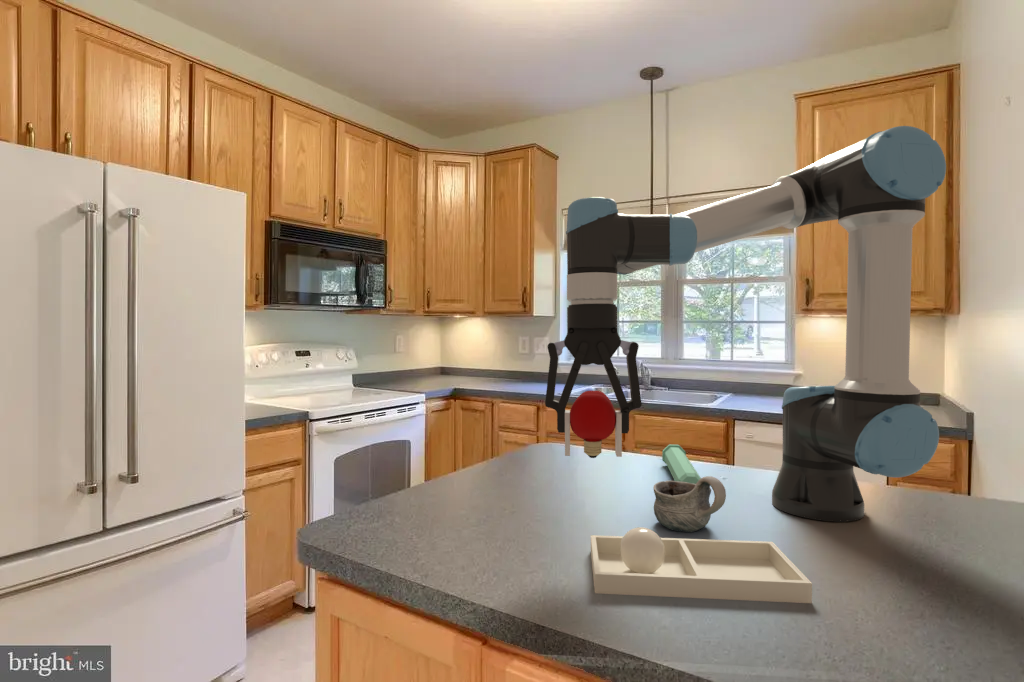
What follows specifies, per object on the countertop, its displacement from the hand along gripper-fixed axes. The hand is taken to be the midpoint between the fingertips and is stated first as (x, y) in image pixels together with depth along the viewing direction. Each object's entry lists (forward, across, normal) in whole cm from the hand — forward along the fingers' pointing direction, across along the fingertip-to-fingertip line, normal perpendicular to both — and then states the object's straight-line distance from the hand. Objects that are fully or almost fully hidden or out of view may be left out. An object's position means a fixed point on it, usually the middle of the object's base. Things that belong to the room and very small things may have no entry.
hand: (592, 453), depth 84 cm
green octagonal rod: (+15, -21, -42) cm, 49 cm away
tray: (+15, -13, +8) cm, 21 cm away
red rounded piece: (+1, 0, 0) cm, 1 cm away
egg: (+14, -6, +8) cm, 18 cm away
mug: (+15, -16, -10) cm, 24 cm away
